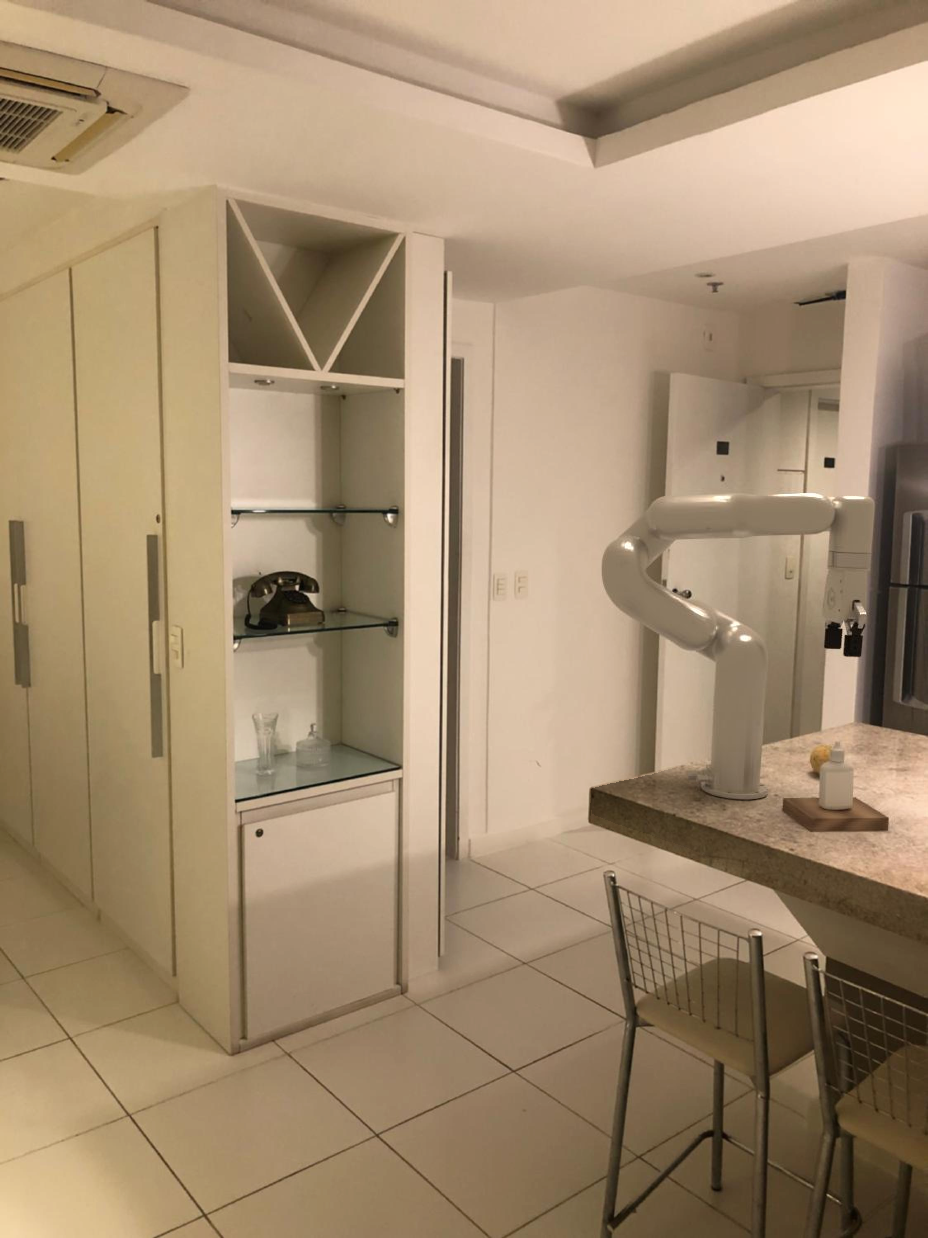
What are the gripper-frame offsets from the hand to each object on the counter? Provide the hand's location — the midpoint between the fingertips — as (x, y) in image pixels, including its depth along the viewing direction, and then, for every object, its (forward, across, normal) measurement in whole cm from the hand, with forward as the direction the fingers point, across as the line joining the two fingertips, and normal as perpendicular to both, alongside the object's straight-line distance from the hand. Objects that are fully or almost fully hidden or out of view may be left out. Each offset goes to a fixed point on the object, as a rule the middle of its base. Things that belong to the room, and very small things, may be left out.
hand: (842, 652), depth 193 cm
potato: (+29, -18, +5) cm, 34 cm away
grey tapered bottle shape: (+26, +13, -4) cm, 30 cm away
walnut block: (+29, +13, -4) cm, 32 cm away
